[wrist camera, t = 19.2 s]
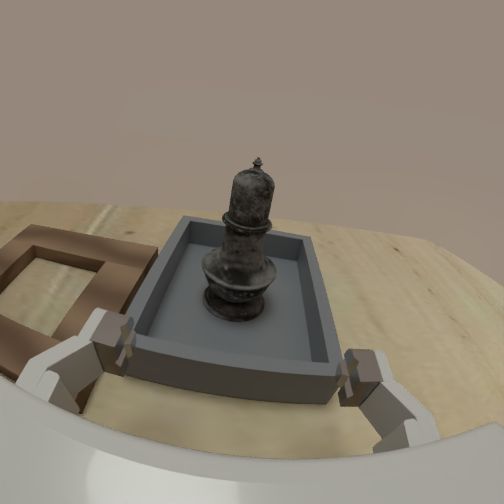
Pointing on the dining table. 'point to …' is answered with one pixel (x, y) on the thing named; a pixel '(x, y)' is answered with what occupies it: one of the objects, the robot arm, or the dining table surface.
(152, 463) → the robot arm
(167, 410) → the dining table surface
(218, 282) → the dark piece
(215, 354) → the parts tray
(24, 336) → the socket block
